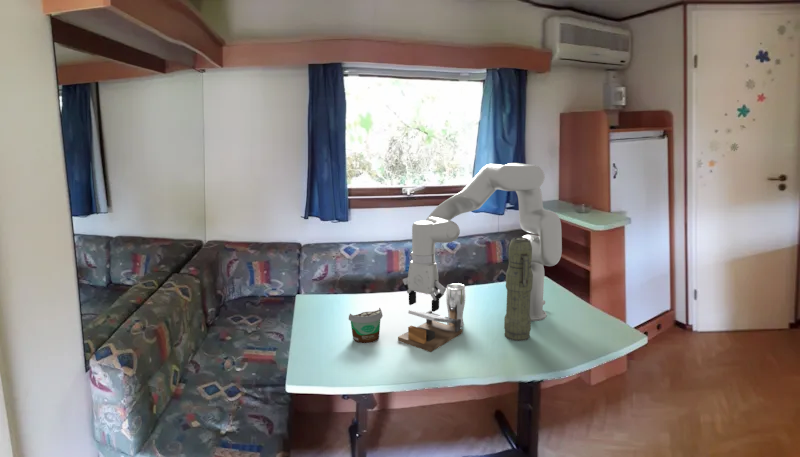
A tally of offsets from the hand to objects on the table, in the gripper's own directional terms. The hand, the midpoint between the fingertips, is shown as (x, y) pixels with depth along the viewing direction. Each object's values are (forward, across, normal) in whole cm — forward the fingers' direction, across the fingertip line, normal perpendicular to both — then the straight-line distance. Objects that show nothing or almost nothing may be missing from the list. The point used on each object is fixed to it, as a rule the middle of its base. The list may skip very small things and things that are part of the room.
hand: (423, 307), depth 171 cm
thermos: (+12, +23, +24) cm, 35 cm away
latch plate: (+12, 0, +4) cm, 13 cm away
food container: (+13, -15, -12) cm, 23 cm away
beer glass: (+12, +1, +18) cm, 22 cm away
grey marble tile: (+6, 0, +5) cm, 8 cm away
